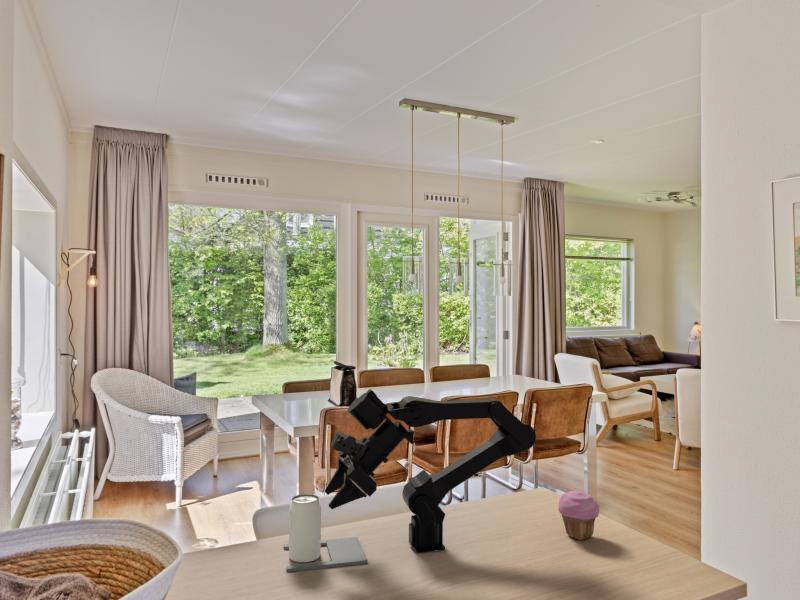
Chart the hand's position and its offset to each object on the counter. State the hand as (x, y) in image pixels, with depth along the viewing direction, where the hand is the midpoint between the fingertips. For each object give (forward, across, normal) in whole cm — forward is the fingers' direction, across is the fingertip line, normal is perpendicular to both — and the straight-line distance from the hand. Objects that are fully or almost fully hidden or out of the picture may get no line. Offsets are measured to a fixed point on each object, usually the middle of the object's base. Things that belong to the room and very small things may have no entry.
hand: (327, 499), depth 117 cm
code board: (+8, 0, +8) cm, 11 cm away
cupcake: (-32, +2, +48) cm, 58 cm away
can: (+11, 0, +5) cm, 12 cm away
